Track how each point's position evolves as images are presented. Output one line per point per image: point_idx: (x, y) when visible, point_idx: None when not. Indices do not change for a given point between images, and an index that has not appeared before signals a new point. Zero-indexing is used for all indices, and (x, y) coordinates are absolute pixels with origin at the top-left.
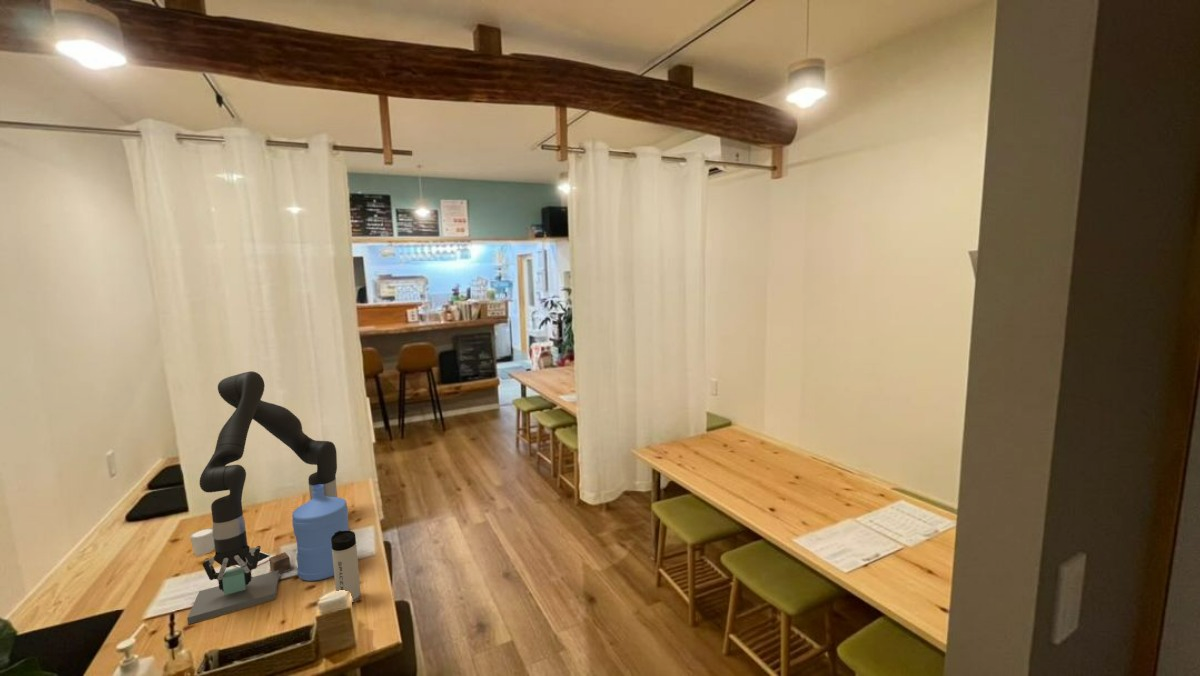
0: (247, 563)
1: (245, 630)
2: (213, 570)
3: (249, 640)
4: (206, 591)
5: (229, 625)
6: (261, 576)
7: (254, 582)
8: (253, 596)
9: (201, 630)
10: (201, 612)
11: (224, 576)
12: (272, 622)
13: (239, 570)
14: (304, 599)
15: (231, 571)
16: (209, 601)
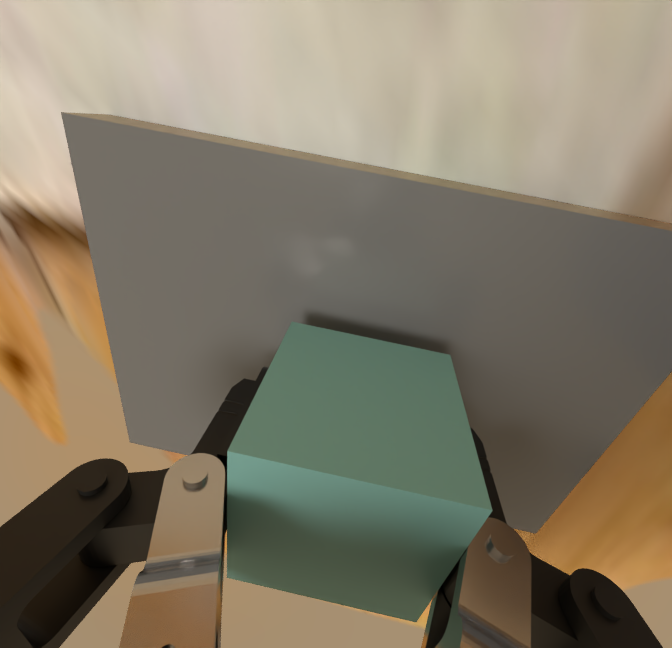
0: (510, 640)
1: None
2: (50, 566)
3: (373, 613)
4: (133, 178)
5: None
6: (581, 261)
7: (493, 330)
8: None
9: None
10: (186, 446)
11: (239, 557)
12: None
13: (390, 557)
14: (614, 571)
15: (303, 520)
16: (200, 364)
